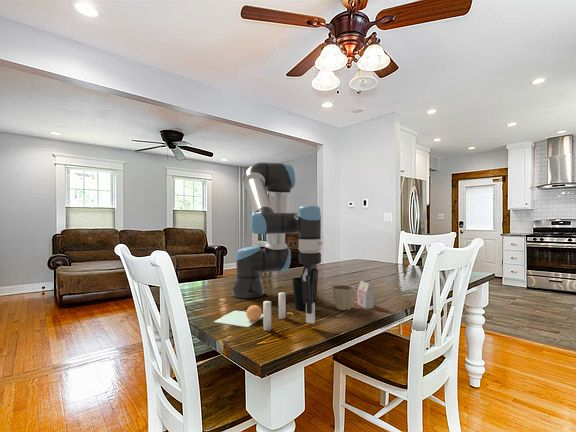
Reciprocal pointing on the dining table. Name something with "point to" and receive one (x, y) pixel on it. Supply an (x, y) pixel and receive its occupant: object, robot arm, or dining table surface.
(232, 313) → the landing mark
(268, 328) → the left post
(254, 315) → the ball
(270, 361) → the dining table surface
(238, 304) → the dining table surface
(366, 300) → the milk carton
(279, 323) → the dining table surface
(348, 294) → the flower pot
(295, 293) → the cup
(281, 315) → the right post
